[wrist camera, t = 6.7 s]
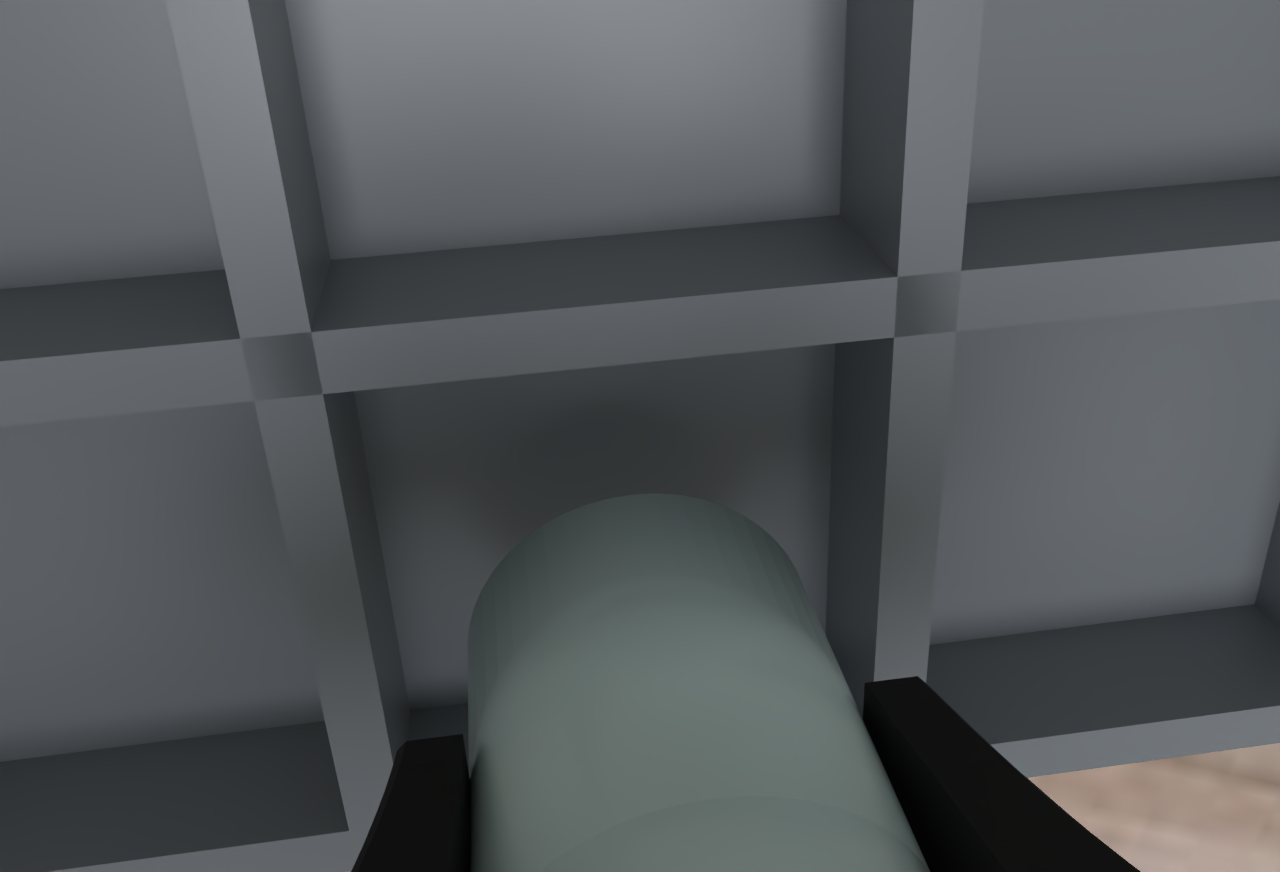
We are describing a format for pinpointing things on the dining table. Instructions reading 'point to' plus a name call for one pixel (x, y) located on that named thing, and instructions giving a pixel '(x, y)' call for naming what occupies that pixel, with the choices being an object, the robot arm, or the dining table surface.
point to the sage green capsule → (666, 706)
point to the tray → (615, 371)
